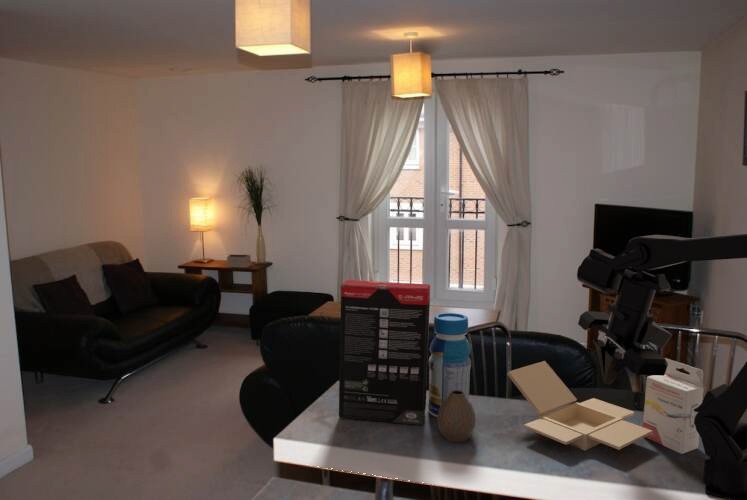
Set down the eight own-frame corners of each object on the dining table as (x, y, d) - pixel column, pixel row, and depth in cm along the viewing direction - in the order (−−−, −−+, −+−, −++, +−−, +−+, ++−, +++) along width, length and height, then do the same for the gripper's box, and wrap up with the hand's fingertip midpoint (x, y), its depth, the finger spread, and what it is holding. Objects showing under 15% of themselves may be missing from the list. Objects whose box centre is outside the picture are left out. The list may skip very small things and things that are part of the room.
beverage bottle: (461, 424, 123) (464, 323, 120) (420, 415, 127) (423, 318, 124) (474, 409, 130) (478, 314, 128) (436, 402, 134) (439, 309, 131)
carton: (666, 437, 118) (667, 422, 118) (599, 472, 104) (600, 455, 104) (590, 410, 130) (591, 396, 130) (521, 438, 117) (521, 422, 116)
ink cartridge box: (640, 436, 118) (645, 360, 116) (657, 431, 121) (663, 356, 119) (682, 455, 111) (688, 374, 109) (699, 449, 114) (706, 369, 111)
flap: (576, 399, 127) (544, 360, 132) (540, 413, 119) (508, 371, 125) (575, 401, 127) (543, 362, 132) (538, 415, 120) (506, 373, 125)
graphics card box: (427, 413, 128) (430, 280, 124) (425, 427, 121) (429, 287, 118) (344, 407, 130) (345, 277, 127) (337, 421, 124) (338, 284, 120)
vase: (464, 449, 112) (465, 402, 111) (430, 439, 116) (431, 393, 115) (481, 436, 118) (482, 390, 117) (448, 426, 122) (449, 382, 120)
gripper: (708, 332, 103) (678, 413, 108) (639, 286, 120) (616, 358, 125) (650, 329, 100) (622, 413, 105) (588, 282, 117) (566, 356, 122)
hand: (607, 383), depth 114 cm, fingers closed
